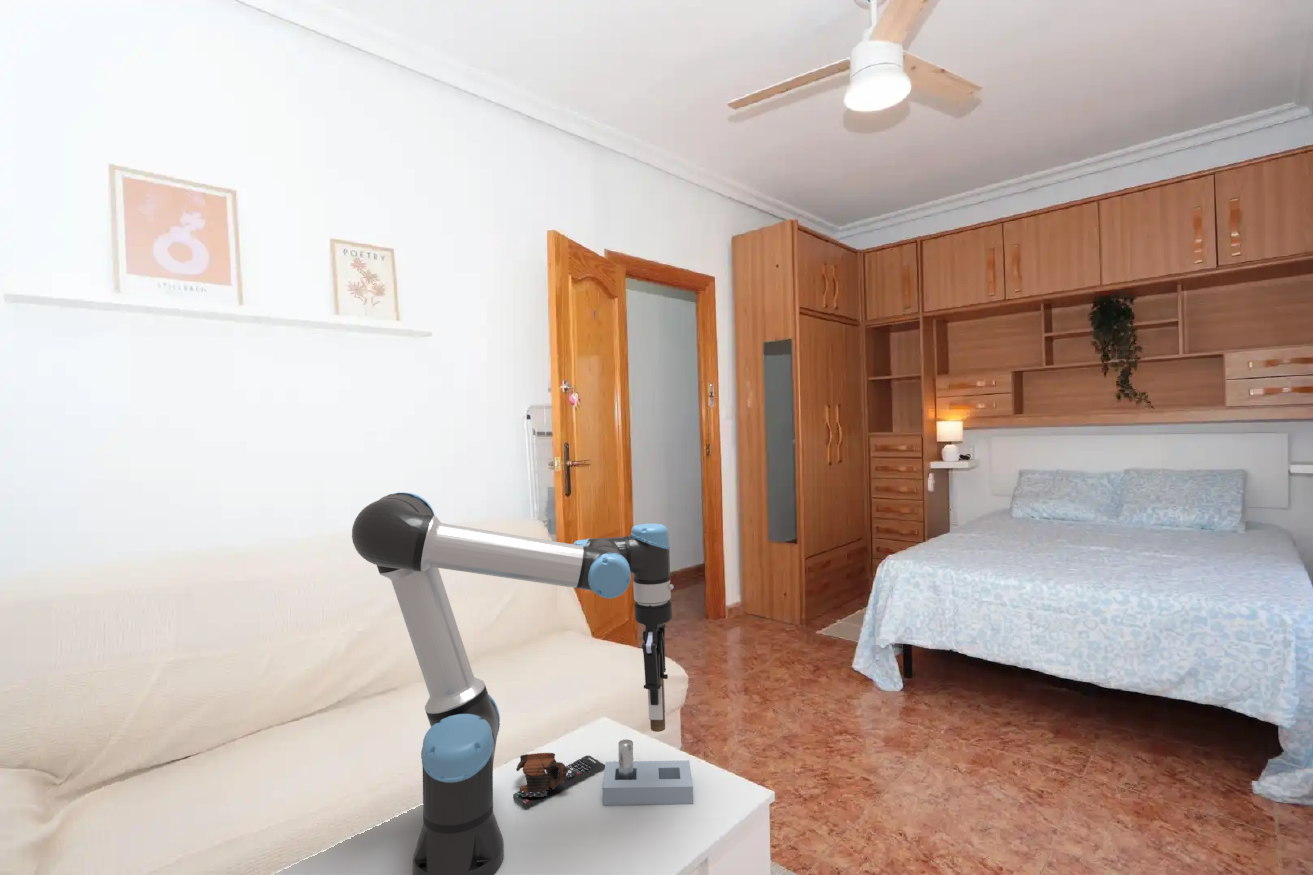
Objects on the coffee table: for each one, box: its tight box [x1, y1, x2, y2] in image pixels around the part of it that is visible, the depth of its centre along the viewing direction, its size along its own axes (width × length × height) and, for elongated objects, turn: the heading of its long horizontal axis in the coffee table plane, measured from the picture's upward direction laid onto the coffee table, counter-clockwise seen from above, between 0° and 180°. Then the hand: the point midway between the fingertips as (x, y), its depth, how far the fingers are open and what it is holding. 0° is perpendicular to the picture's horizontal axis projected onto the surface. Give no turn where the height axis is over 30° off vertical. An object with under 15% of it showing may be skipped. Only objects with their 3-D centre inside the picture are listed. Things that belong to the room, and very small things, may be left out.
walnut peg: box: [649, 677, 666, 733], centre depth 132 cm, size 3×3×10 cm
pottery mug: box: [515, 752, 568, 792], centre depth 136 cm, size 12×10×8 cm
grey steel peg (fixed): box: [618, 738, 634, 780], centre depth 135 cm, size 3×3×10 cm
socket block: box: [602, 759, 694, 806], centre depth 135 cm, size 18×10×4 cm, turn 91°
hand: (657, 714), depth 133 cm, fingers closed on walnut peg, 2 cm apart
